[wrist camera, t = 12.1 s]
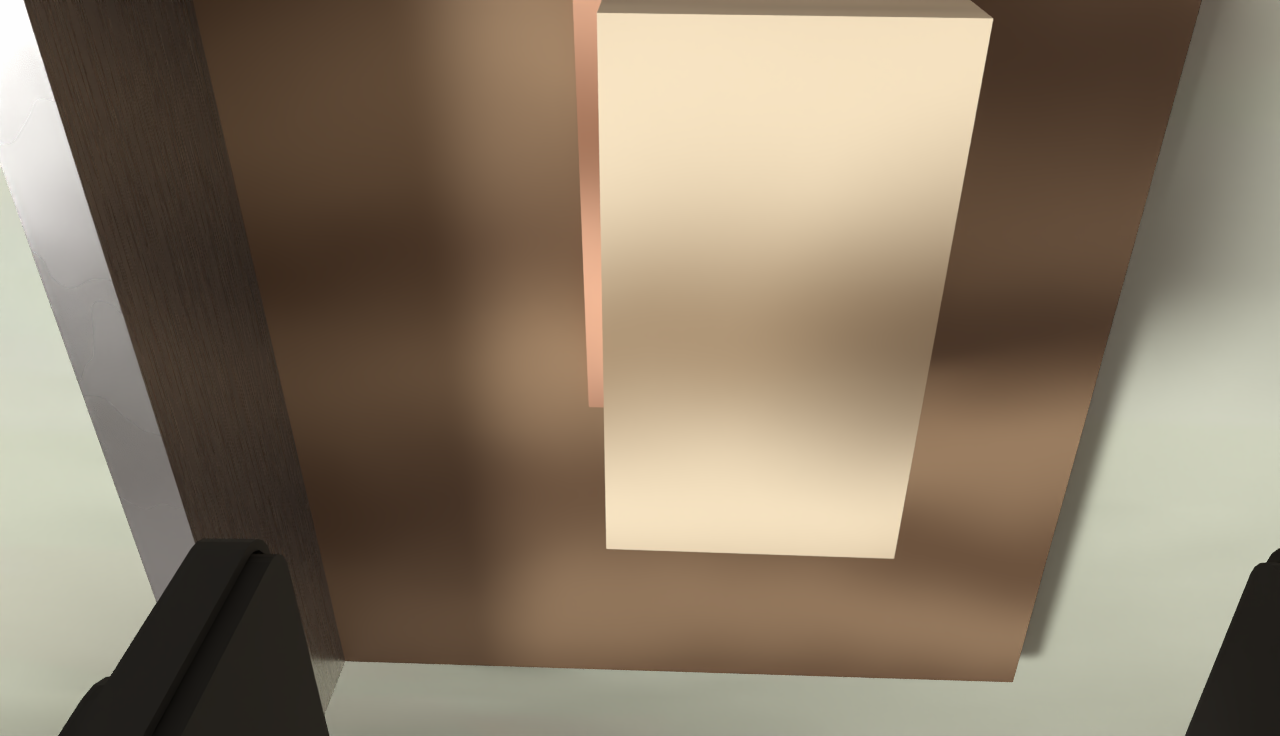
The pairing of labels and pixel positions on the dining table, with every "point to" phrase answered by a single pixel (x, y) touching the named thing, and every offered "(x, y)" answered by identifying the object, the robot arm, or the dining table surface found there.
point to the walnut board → (573, 343)
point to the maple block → (775, 262)
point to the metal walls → (156, 284)
